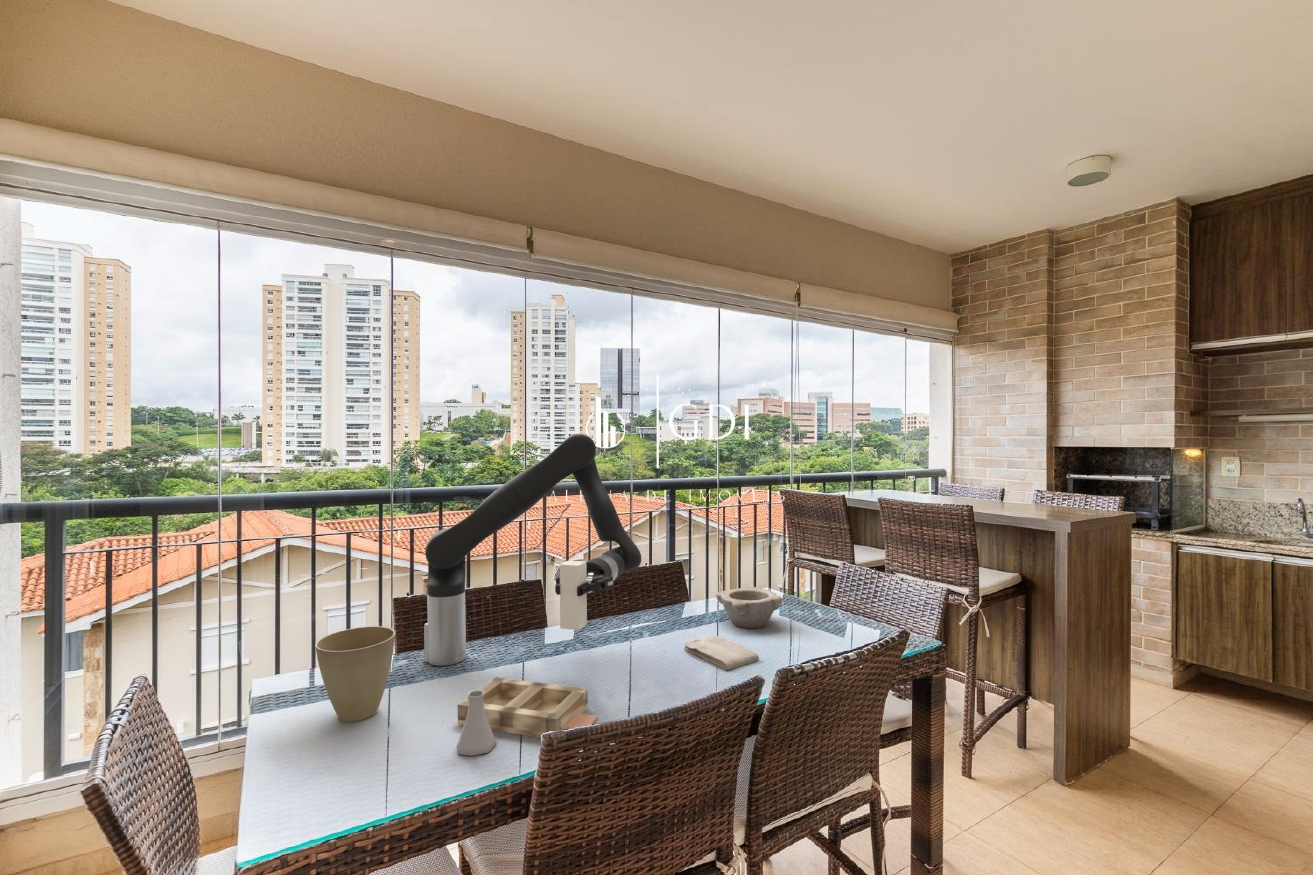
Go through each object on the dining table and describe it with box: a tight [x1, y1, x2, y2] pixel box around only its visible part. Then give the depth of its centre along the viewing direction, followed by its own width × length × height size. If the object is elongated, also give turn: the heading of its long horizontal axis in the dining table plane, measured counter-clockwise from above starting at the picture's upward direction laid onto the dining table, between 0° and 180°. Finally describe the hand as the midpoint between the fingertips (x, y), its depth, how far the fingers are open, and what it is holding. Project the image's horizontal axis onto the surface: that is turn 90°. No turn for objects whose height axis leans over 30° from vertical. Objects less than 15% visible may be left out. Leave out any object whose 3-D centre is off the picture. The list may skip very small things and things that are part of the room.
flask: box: [456, 689, 497, 756], centre depth 112 cm, size 7×7×10 cm
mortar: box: [715, 586, 783, 629], centre depth 182 cm, size 17×17×9 cm
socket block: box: [457, 676, 599, 739], centre depth 123 cm, size 26×14×4 cm, turn 73°
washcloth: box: [683, 635, 760, 671], centre depth 156 cm, size 12×18×3 cm, turn 36°
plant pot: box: [314, 625, 396, 723], centre depth 125 cm, size 15×15×16 cm
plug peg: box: [559, 560, 588, 631], centre depth 133 cm, size 4×4×14 cm
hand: (568, 590), depth 130 cm, fingers closed on plug peg, 4 cm apart
